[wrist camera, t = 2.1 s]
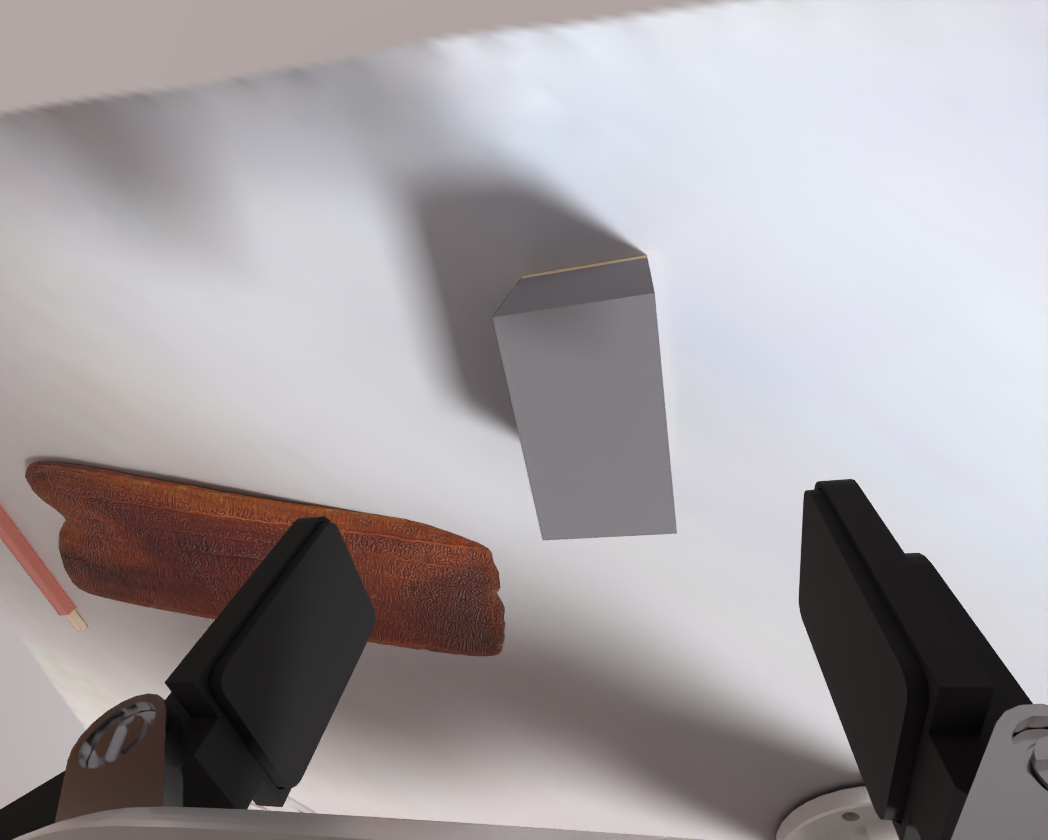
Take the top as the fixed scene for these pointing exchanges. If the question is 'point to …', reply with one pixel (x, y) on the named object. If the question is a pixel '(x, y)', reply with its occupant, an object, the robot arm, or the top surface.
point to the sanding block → (590, 399)
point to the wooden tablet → (264, 555)
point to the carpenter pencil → (38, 571)
